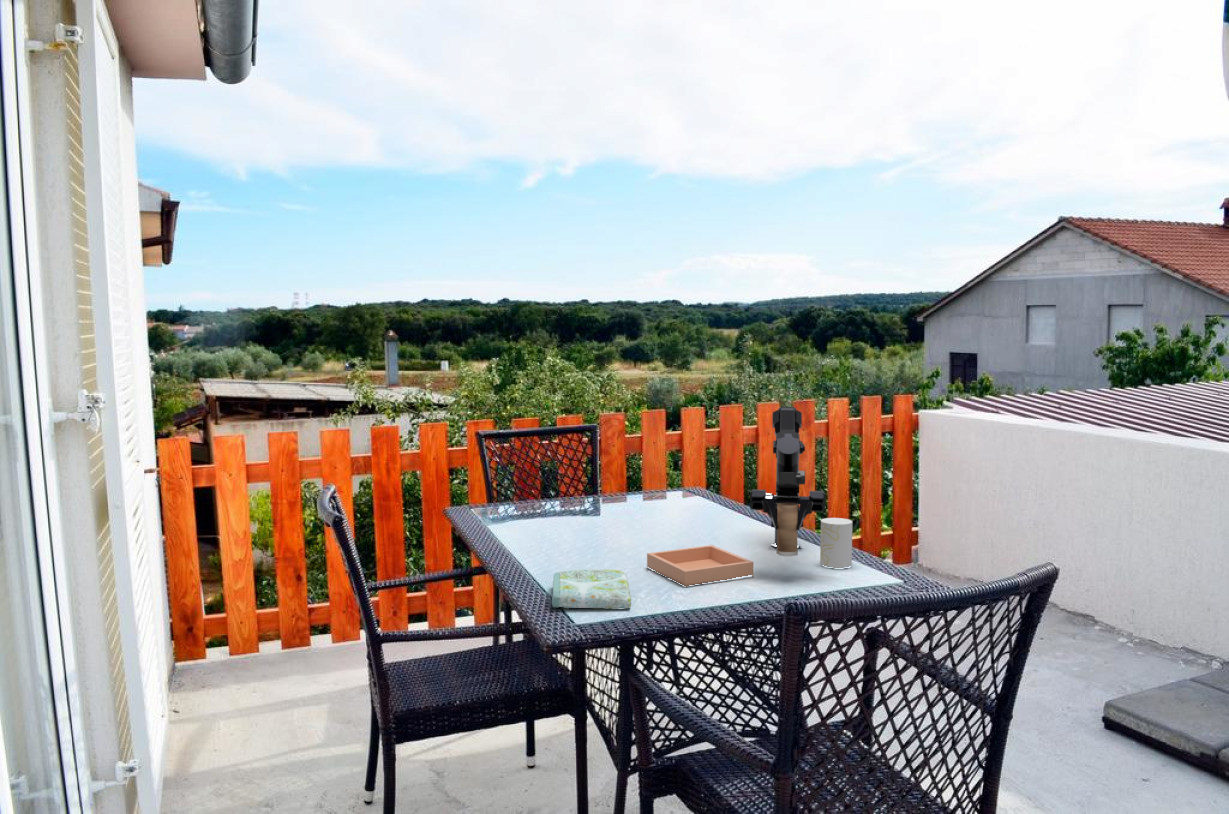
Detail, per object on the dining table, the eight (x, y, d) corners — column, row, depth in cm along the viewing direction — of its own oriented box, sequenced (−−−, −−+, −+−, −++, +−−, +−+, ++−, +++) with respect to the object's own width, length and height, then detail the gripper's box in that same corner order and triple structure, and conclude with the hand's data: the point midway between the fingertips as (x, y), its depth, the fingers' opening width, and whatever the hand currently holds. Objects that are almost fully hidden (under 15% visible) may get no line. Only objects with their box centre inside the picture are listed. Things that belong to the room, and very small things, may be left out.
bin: (647, 568, 247) (647, 553, 247) (711, 559, 256) (712, 545, 255) (685, 587, 229) (685, 571, 229) (753, 577, 238) (753, 561, 237)
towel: (627, 586, 232) (627, 565, 232) (631, 612, 211) (631, 590, 211) (554, 586, 232) (554, 566, 232) (550, 613, 211) (550, 591, 210)
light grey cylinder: (814, 563, 251) (814, 519, 250) (840, 560, 254) (840, 516, 253) (831, 570, 244) (832, 525, 242) (857, 567, 246) (858, 522, 245)
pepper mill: (772, 552, 236) (773, 503, 235) (790, 550, 238) (790, 501, 236) (783, 557, 231) (784, 507, 230) (801, 554, 233) (802, 505, 232)
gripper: (750, 458, 238) (748, 510, 228) (825, 459, 234) (827, 512, 225) (751, 483, 246) (749, 534, 236) (823, 485, 243) (825, 536, 233)
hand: (787, 528), depth 232 cm, fingers closed on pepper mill, 5 cm apart
